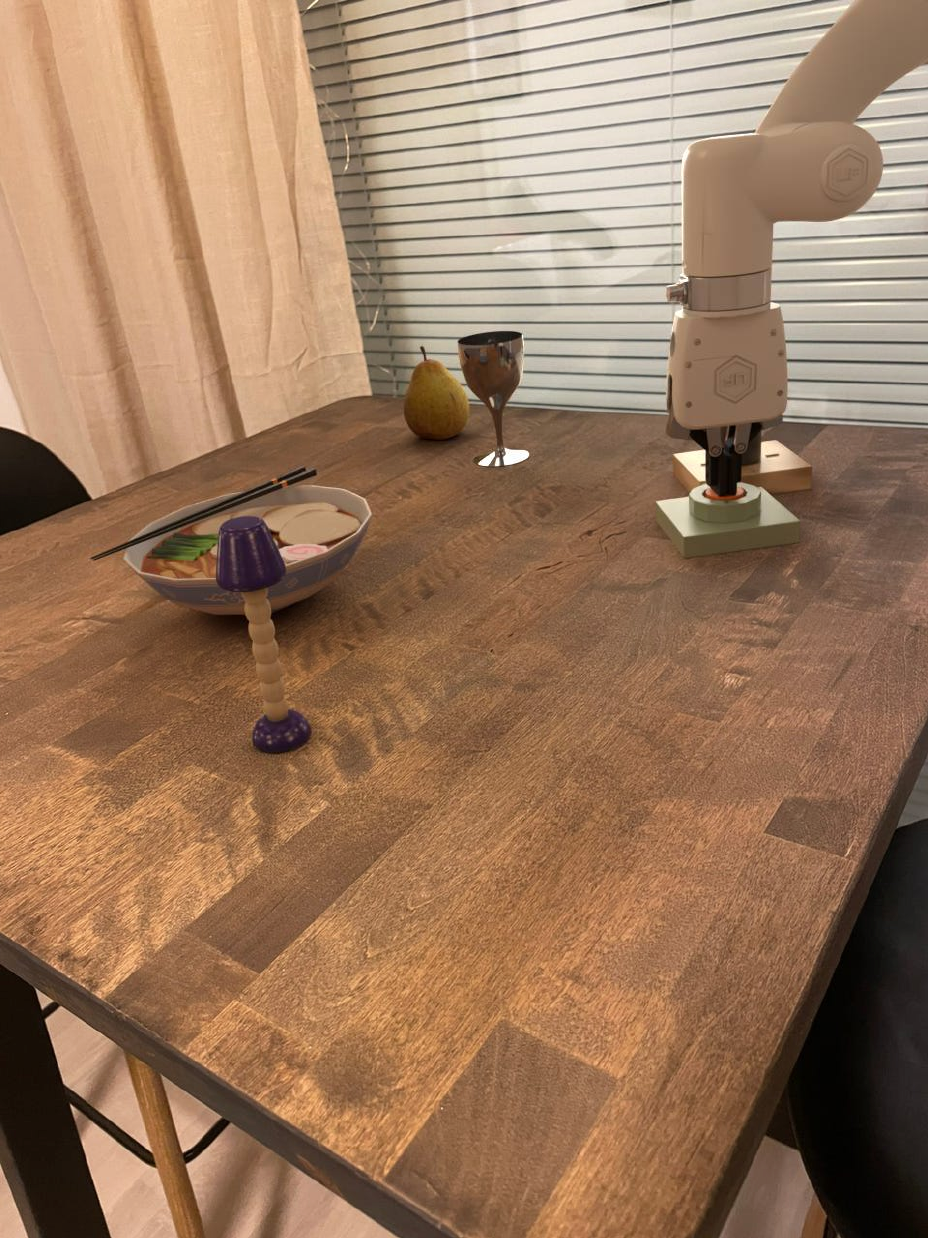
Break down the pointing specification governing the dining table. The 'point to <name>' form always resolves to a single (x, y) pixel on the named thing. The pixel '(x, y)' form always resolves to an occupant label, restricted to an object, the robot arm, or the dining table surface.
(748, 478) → the dimmer panel
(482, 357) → the wine glass
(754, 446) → the dimmer knob
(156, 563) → the ramen bowl
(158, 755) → the dining table surface
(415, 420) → the fruit
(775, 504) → the switch box
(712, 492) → the power button
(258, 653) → the toy lamp
